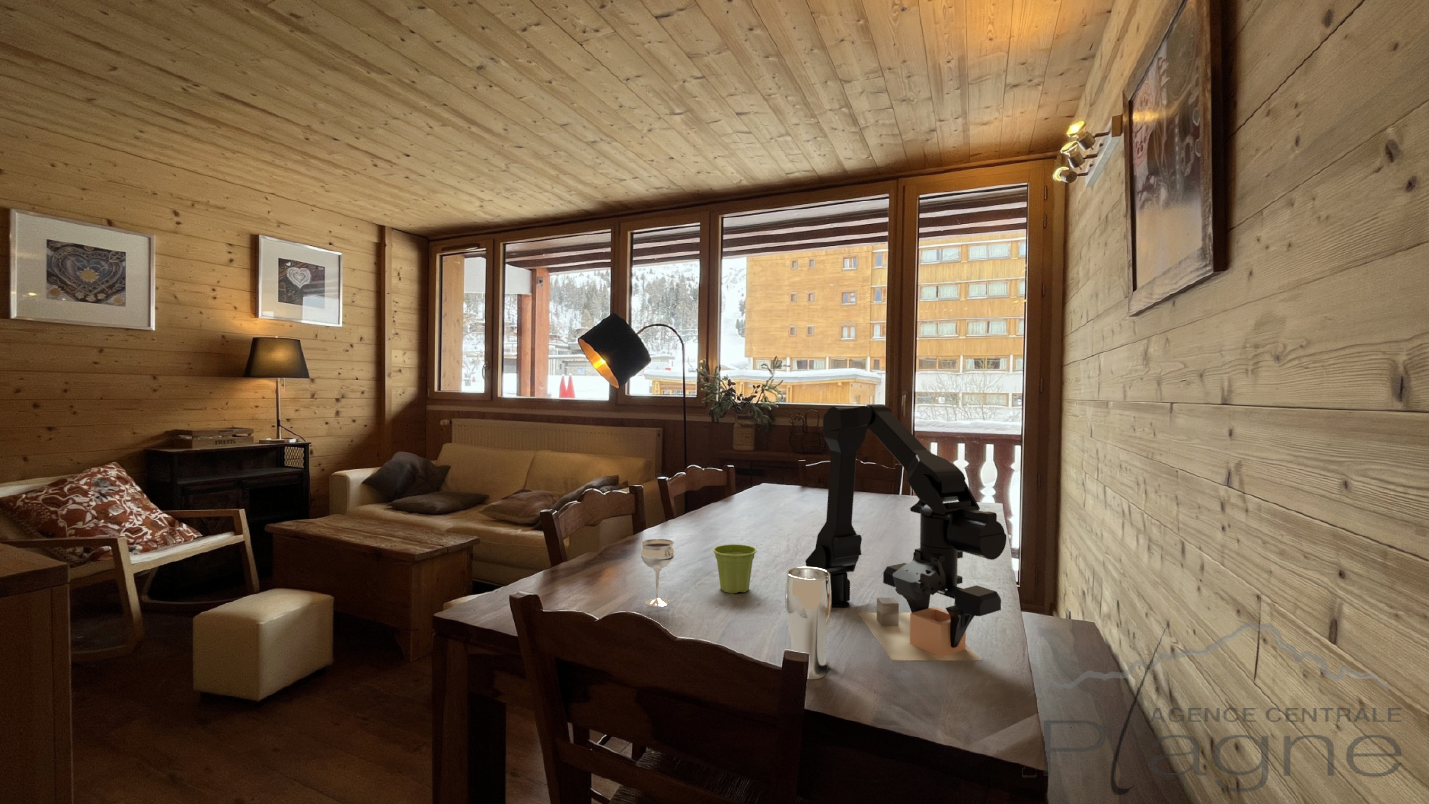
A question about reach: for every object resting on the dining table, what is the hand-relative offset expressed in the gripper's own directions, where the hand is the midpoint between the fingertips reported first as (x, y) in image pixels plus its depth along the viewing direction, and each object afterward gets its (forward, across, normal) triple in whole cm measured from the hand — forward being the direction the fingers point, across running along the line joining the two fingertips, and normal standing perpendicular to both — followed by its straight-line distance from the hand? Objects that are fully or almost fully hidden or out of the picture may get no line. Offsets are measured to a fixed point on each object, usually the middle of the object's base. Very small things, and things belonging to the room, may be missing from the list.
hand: (937, 640), depth 98 cm
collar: (+1, 0, 0) cm, 1 cm away
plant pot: (+3, -44, -10) cm, 45 cm away
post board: (+2, -5, +1) cm, 6 cm away
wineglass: (+3, -45, -28) cm, 53 cm away
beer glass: (+3, -7, -22) cm, 23 cm away
